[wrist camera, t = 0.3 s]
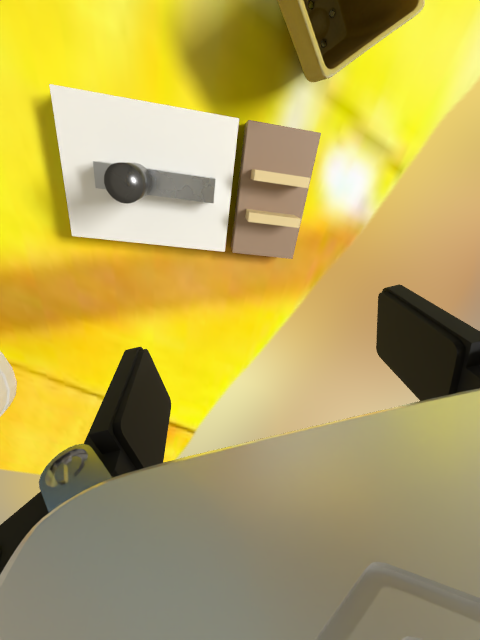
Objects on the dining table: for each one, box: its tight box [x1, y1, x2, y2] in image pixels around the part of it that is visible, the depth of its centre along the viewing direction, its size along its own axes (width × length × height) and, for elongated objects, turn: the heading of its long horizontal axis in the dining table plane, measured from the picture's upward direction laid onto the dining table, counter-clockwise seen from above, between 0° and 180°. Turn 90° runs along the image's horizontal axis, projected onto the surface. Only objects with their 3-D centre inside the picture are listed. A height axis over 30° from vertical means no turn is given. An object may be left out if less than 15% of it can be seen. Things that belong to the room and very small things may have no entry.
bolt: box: [93, 161, 216, 204], centre depth 28 cm, size 3×12×7 cm, turn 82°
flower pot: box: [277, 0, 424, 82], centre depth 25 cm, size 9×9×9 cm
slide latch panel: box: [49, 84, 321, 259], centre depth 32 cm, size 14×27×6 cm, turn 82°
